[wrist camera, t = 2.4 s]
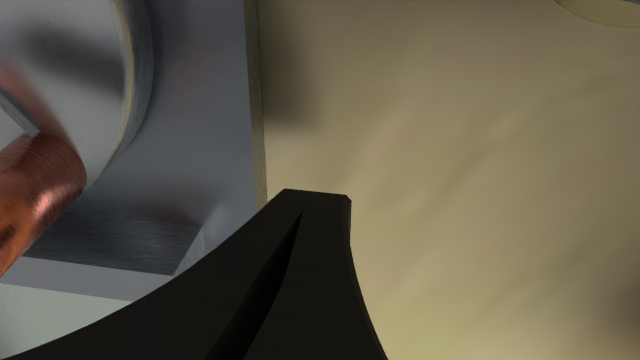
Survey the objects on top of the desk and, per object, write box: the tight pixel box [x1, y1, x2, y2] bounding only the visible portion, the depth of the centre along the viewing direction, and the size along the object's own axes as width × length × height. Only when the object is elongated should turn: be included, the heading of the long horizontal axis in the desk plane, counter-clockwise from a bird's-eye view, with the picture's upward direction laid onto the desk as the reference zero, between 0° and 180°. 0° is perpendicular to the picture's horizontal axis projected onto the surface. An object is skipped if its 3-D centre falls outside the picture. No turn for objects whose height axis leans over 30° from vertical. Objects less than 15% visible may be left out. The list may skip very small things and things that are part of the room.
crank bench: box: [0, 0, 267, 360], centre depth 16 cm, size 13×22×4 cm, turn 0°
